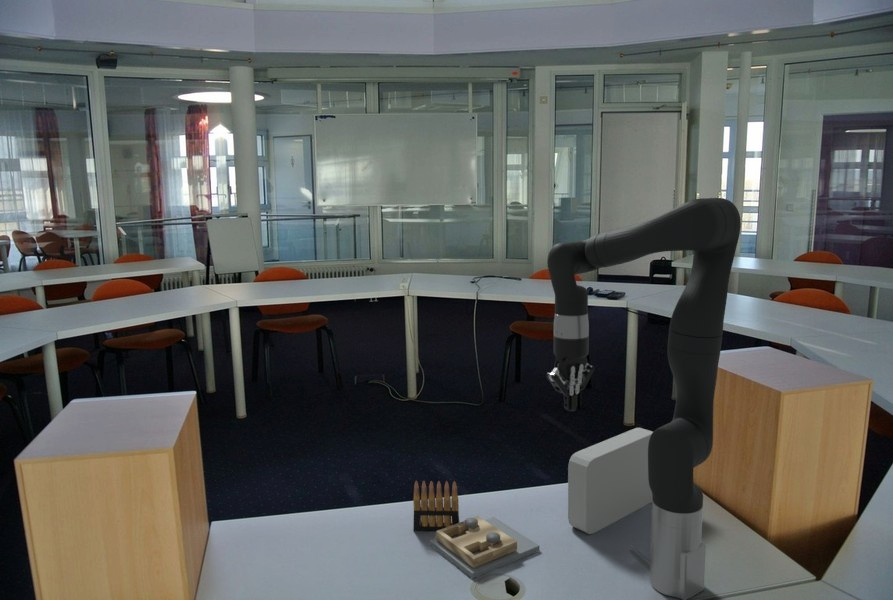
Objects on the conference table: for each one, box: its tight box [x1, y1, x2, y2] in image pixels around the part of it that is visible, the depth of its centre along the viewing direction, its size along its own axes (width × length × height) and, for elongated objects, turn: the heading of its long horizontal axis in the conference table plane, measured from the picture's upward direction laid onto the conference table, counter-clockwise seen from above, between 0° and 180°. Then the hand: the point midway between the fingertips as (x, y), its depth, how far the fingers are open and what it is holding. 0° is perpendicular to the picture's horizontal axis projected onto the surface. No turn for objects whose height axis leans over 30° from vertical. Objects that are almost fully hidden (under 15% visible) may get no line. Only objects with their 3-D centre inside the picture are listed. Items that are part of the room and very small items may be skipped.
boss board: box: [429, 516, 540, 579], centre depth 146 cm, size 16×18×5 cm
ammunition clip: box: [412, 480, 460, 533], centre depth 154 cm, size 11×2×12 cm, turn 86°
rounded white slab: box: [567, 427, 654, 535], centre depth 160 cm, size 29×8×18 cm, turn 129°
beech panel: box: [435, 515, 517, 568], centre depth 144 cm, size 14×12×2 cm
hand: (570, 410), depth 147 cm, fingers closed
